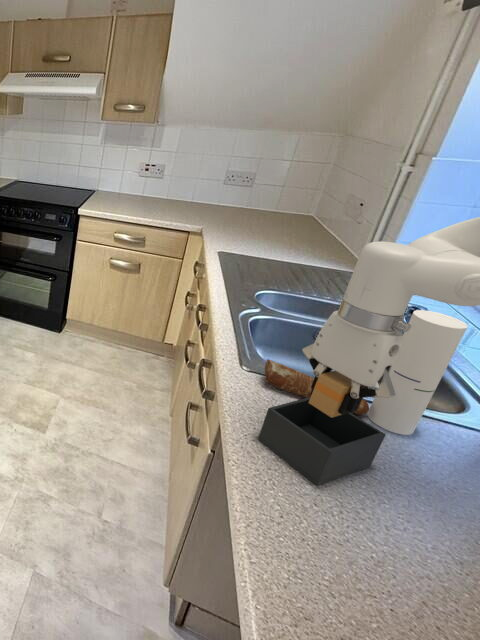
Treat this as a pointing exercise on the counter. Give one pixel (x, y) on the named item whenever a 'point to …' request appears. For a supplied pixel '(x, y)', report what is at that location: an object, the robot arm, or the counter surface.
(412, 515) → the counter surface
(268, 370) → the bread
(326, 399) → the carton
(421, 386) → the cylindrical container
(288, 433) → the bin
